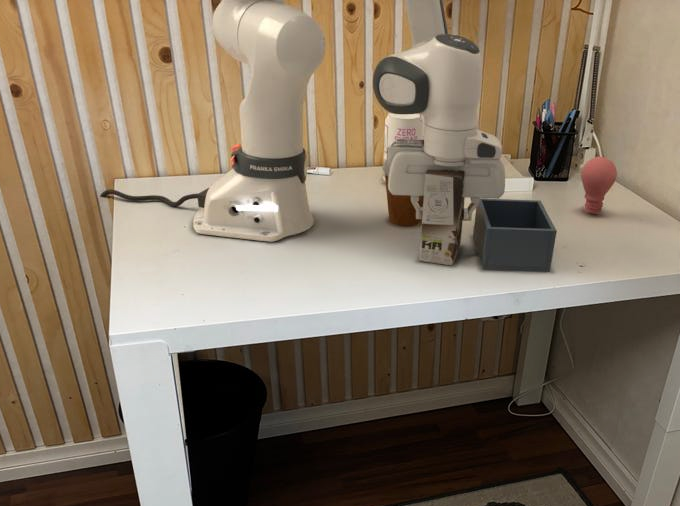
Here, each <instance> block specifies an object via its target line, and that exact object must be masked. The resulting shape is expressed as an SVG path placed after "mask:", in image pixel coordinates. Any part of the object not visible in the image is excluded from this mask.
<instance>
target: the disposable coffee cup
mask: <svg viewBox="0 0 680 506" xmlns="http://www.w3.org/2000/svg"><path fill="white" fill-rule="evenodd" d="M382 170H383V171H384V173H385V180H386V182H385V191H386V200H387V201H386V202H387V213H388V214H387V215H388V222H389V223H390V224H391V225H393V226H395V227H400V228H413V227H416V226H419V225H420V224H421V223H422V219H416V210H415V208H414V206H413V204H412V202H411V196H410V195H393V194H392V193H391V192H390V191H389V190H388V178H389V170H390V164H389V163H388V160H387V159H386V161H385V164H384V163H383V165H382ZM423 200H424V196H419V201H417V202H418V204H419V206H420V207H423Z"/></svg>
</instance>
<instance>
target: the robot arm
mask: <svg viewBox="0 0 680 506" xmlns="http://www.w3.org/2000/svg"><path fill="white" fill-rule="evenodd" d="M404 5H405V9H406V15H407V20H408V25H409V31H410V36H411V48H410V49H407V50H403V51H399V52H396V53H393V54H390V55H388V56H386V57H384V58H382V59H381V60H380V61H378V63H377V65H376V67H375V68H374V71H373V75H372V90H373V94H374V96H375V98H376V100H377V102H378V104H379V105H380V107H382V108H383V109H384V110H385V111H386V112H388V113H389V112H390V113H393V114H420V115H422V116H423V118H424V121H423V139H422V140H404V139H398V140H397V141H396V142H393V143H391V144H390V145H389V147H388V149H387V160H388V163H389V164H390V170H389V178H388V190H389V191H390V192H391V193H392V194H393V195H410V196H411V202H412V204H413V206H414V208H415V210H416V219H421V220H422V214H423V207H420V206H419V204H418V202H417V201H419V196H424V186H425V173H426V171H427V170H459V171H464V172H465V175H464V187H463V197H465V198H469V199H470V203H469V205H468V207H464V208H463V214H462V219H463V221H464V222H471V221H472V217H473V212H474V211H476V207H477V206H478V204H479V201H480V198H481V199H482V198H483V199H501V197H503V195H504V194H505V190H506V167H505V164H504V162H503V159H502V158H501V157H502V155H503V146H502V144H501V143H502V142H501V140H499V138H498V137H497V136H495V135H493V134H491V133H488V132H485V131H482V130H480V129H478V125H479V123H478V116H477V109H478V105H479V103H480V101H481V94H482V92H481V91H482V74H483V67H482V66H483V65H482V64H483V63H482V53H481V50H480V48H479V46H478V45H477V44H476V43H475V42H474V41H473V40H471V39H470V38H469V39H468V38H466V37H465V36H461V35H457V34H451V33H449V32H448V25H447V20H446V14H445V7H444V2H443V0H404ZM211 20H212V22H211V23H212V24H211V27H212V33H213V36H214V39H215V41H216V43H217V44H218V45H219V46H220V47H221V48H222V50H224V51H225V52H226V53H227V54H228V55H229V56H230V57H231V58H233V59H234V60H236V61H238V62H240V63H242V64H246V65H248V66H249V69H250V76H249V77H250V78H249V83H248V89H247V93H246V96H245V97H244V98H243V99H242V101H241V102H240V104H239V109H238V113H239V128H240V138H241V139H240V140H241V142H240V143H236V144H234V145H233V147H232V149H231V154H230V160H231V162H230V163H231V167H232V168H231V169H230V170H229V171H227V172H226V173H225V174H224V175H222V176H221V177H219V178H218V179H217V180H216V181H214V182H213V183H212V184H211V185H210V186H209V187H208V188H205V189H204V190H202V191H200V192H198V193H191V194H186V195H184V196H182V197H181V198H179V199H178V200H176V201H172V200H171V199H169V198H168V197H165V196H163V195H157V194H150V195H130V194H126V193H124V192H121V191H119V190H115V189H113V188H112V189H111V188H110V189H106V190H104V191H102V192H101V193H100V195H99V197H100V198H106V197H107V196H108V195H114V196H117V197H119V198H122V199H124V200H127V201H133V202H144V201H145V202H146V201H159V202H160V201H161V202H164V203H165V204H167V205H168V206H170V207H173V208H175V207H180V206H181V205H182V204H184V203H185V202H187V201H190V200H196V199H197V205H198V208H200V209H198V211H197V212H196V213H195V215H194V217H193V221H192V222H193V223H192V224H193V227H192V228H193V230H194V231H195V232H196V233H197V234H199V235H207V236H216V237H224V238H235V239H242V240H251V241H253V240H254V241H260V242H269V243H270V242H271V243H272V242H277V241H280V240H282V239H284V238H286V237H289V236H295V235H298V234H301V233H304V232H306V231H307V230H310V229H311V227H312V226H313V225H314V223H315V222H314V221H315V220H314V218H313V215H312V211H311V208H310V203H309V199H308V193H307V185H306V180H307V177H308V167H307V166H308V165H307V163H308V162H307V154H306V150H305V148H304V133H303V132H304V131H303V130H304V123H303V122H304V119H303V118H304V114H303V113H304V103H305V98H306V94H307V90H308V86H309V83H310V80H311V77H312V76H313V74H314V73H316V72H317V71H318V69H319V68H320V67H321V65H322V63H323V61H324V59H325V55H326V49H327V48H326V47H327V45H326V43H327V42H326V37H325V34H324V30H323V29H322V27H321V25H320V24H319V23H318V22H317V21H316V20H315V19H314V18H312V17H311V16H310V15H309V14H308V13H306V12H304V10H301V9H300V8H298V7H295V6H292V5H288V4H286V0H221V1H220V2H219V3H218V5H217V7H216V8H215V10H214V12H213V16H212V19H211ZM394 144H396V145H394Z"/></svg>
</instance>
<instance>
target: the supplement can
mask: <svg viewBox="0 0 680 506" xmlns="http://www.w3.org/2000/svg"><path fill="white" fill-rule="evenodd" d="M423 128H424V121H423V120H422V118H421V114H393V113H390V112H388V113H387V115H386V118H385V120H384V139H383V140H384V141H383V143H384V144H383V147H384V148H383V165H384V164H385V161H386V159H387V149H388V147H389V145H390V144H391V143H393V142H396V141H397V140H398V139H404V140H423ZM394 145H396V144H394ZM382 179H383V181H384V182H385V183H386V180H385V173H384V171H383V173H382Z"/></svg>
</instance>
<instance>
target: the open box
mask: <svg viewBox="0 0 680 506" xmlns="http://www.w3.org/2000/svg"><path fill="white" fill-rule="evenodd" d="M557 232H558V231H557V229H556V227H555V225H554V222H553V221H552V219H551V217H550V215H549V214H548V211H547V210H546V207H545V206H544V203H543V202H542V200H537V199H535V200H533V199H511V198H510V199H509V198H508V199H507V198H505V199H504V198H480V201H479V204H478V206H477V207H476V208H475V215H474V225H473V233H472V234H473V235H472V239H473V242H474V245H475V248H476V252H477V256H478V259H479V263H480V267H481V270H482V271H507V272H508V271H509V272H511V271H512V272H539V273H540V272H546V273H550V272H551V267H552V263H553V255H554V249H555V244H556V238H557Z"/></svg>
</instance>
